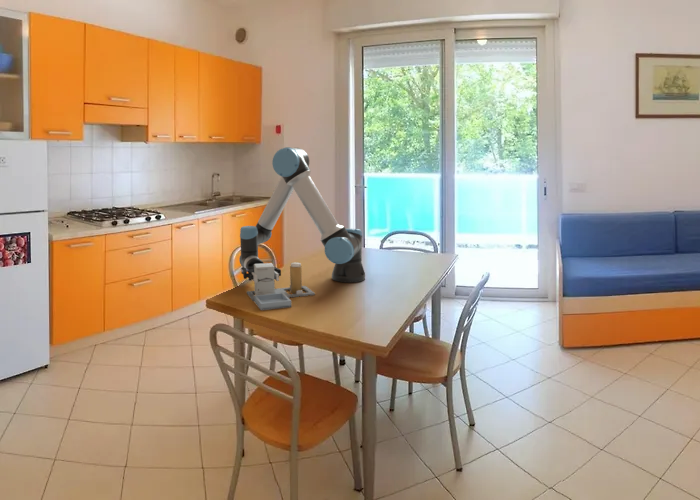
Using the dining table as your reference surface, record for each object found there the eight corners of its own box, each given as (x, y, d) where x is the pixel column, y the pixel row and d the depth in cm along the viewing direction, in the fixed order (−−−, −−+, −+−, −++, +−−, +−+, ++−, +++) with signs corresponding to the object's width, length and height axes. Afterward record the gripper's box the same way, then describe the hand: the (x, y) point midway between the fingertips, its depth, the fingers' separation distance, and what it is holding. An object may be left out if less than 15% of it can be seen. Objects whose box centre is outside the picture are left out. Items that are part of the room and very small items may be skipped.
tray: (283, 298, 202) (283, 292, 201) (291, 307, 191) (291, 300, 191) (254, 301, 197) (254, 295, 197) (261, 310, 187) (260, 303, 186)
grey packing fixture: (305, 287, 218) (305, 283, 218) (314, 295, 207) (314, 290, 207) (246, 293, 209) (246, 288, 208) (253, 301, 198) (252, 296, 197)
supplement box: (256, 298, 201) (255, 267, 199) (254, 293, 208) (253, 263, 206) (275, 297, 203) (274, 266, 201) (272, 292, 210) (272, 262, 208)
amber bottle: (299, 290, 213) (299, 261, 211) (303, 293, 209) (302, 264, 207) (289, 291, 212) (288, 262, 209) (292, 294, 207) (291, 265, 205)
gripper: (278, 272, 225) (292, 285, 204) (230, 276, 217) (240, 290, 196) (277, 255, 223) (292, 267, 203) (229, 259, 216) (240, 271, 195)
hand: (267, 278), depth 200 cm, fingers closed on supplement box, 8 cm apart
